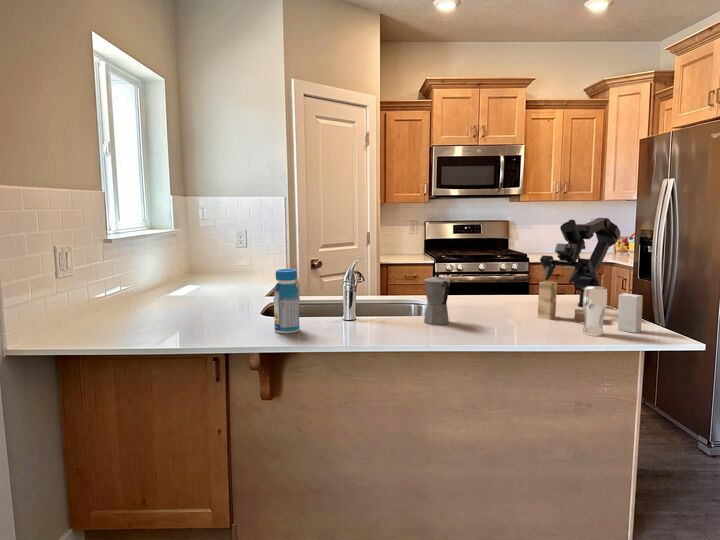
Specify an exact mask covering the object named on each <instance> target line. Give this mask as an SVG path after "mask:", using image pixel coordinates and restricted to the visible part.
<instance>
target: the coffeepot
mask: <svg viewBox="0 0 720 540" xmlns="http://www.w3.org/2000/svg"><path fill="white" fill-rule="evenodd" d="M440 274H441V272H440V271H435V276H432V277H429V278H424V286H425V293H426V301H427V303H426V308H425V314H424V320H423V323H424V324H426V325H430V326H431V325H432V326H446V325H448V324H450V320H449V313H448V312H449V311H448V306H447V305H448V304H447V301H448V297H449V293H450V285H451V280H450V279H449V278H445V277H441V276H440Z"/></svg>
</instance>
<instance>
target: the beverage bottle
mask: <svg viewBox="0 0 720 540" xmlns="http://www.w3.org/2000/svg"><path fill="white" fill-rule="evenodd" d="M297 278H298V271H297V270H296V269H294V268H279V269H276V270H275V281H276V282H277V283H275V286H274V288H273V293H274V295H273V299H272V300H273V306H274V307H273V308H274V309H273V310H274V311H273V313H274V315H273V316H274V332H276V333H278V334H293V333H297V332H299V331H300V328H301V327H300V299H301V298H300V295H299V293H300V289H299V286H298V284H297V282H296V281H297Z"/></svg>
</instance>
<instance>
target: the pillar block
mask: <svg viewBox="0 0 720 540" xmlns="http://www.w3.org/2000/svg"><path fill="white" fill-rule="evenodd" d="M557 289H558V282H555V281H548V280H547V281H546V280H545V281H540V282H539V284H538V302H537V303H538V304H537V306H538V307H537V318H538V319H543V318H544V320H548V319H550V320H553V319H556V311H557V310H556V309H557V296H558V295H557V293H558V292H557V291H558V290H557ZM552 318H553V319H552Z"/></svg>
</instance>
